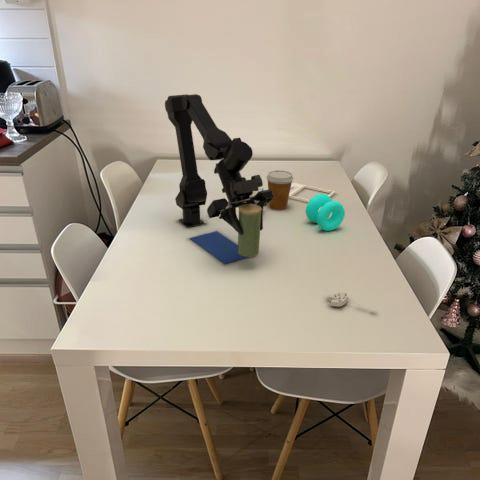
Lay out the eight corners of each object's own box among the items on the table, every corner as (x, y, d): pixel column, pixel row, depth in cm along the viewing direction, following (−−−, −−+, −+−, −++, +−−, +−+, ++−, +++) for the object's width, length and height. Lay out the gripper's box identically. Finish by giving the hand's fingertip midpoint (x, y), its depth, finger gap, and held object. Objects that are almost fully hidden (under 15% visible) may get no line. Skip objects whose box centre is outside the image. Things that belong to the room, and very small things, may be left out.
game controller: (328, 295, 128) (330, 286, 126) (373, 302, 126) (375, 293, 124) (326, 306, 123) (328, 298, 122) (373, 313, 121) (375, 305, 120)
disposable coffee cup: (293, 204, 181) (296, 171, 174) (287, 213, 174) (290, 179, 167) (269, 200, 184) (270, 168, 177) (261, 209, 176) (263, 176, 169)
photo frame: (293, 182, 198) (335, 190, 190) (293, 184, 198) (334, 193, 191) (276, 192, 187) (320, 202, 180) (276, 195, 188) (319, 205, 181)
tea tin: (236, 247, 140) (237, 203, 133) (257, 246, 141) (260, 203, 133) (238, 257, 135) (239, 212, 128) (260, 256, 136) (262, 212, 128)
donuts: (318, 234, 159) (322, 204, 154) (302, 222, 167) (305, 194, 161) (344, 229, 163) (348, 200, 157) (327, 218, 170) (331, 190, 165)
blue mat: (189, 239, 154) (189, 238, 154) (216, 232, 159) (216, 231, 159) (224, 264, 141) (224, 263, 141) (252, 255, 146) (252, 254, 145)
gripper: (211, 170, 123) (233, 227, 122) (272, 160, 131) (293, 213, 130) (197, 190, 133) (218, 243, 132) (255, 180, 141) (274, 229, 140)
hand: (251, 232), depth 133 cm, fingers closed on tea tin, 6 cm apart
